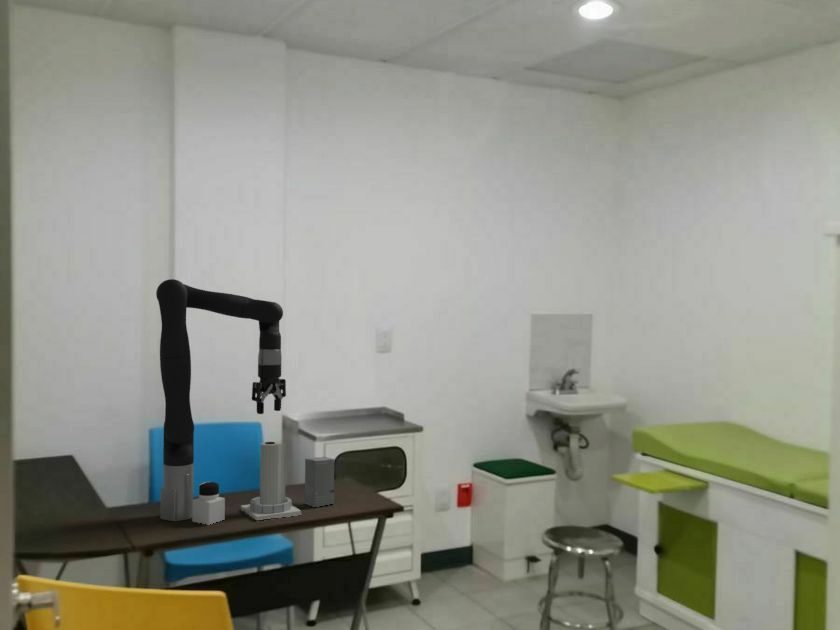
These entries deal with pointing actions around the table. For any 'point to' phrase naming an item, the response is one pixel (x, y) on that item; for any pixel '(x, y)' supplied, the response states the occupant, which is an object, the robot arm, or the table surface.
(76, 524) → the table surface
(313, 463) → the skincare box
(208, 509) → the medicine bottle
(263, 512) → the collar socket
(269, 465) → the paper towel roll
